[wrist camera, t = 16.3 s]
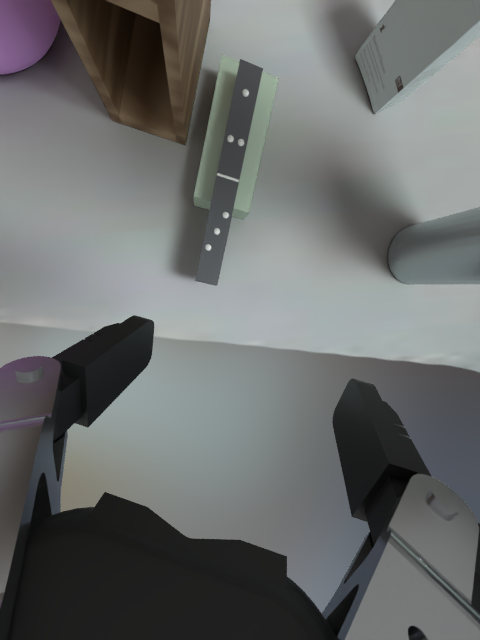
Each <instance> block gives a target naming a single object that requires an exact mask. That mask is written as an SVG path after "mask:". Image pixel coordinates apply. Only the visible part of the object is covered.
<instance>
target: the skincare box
mask: <svg viewBox="0 0 480 640" xmlns="http://www.w3.org/2000/svg"><path fill="white" fill-rule="evenodd" d="M478 37H480V0H396V1H395V2H394V3H393V5H392V6H391V7H390V9H389V10H388V11H387V13H386V14H385V15H384V17H383V18H382V19H381V20H380V22H379V23H378V24H377V26H376V27H375V28H374V30H373V31H372V32H371V34H370V35H369V36H368V38H367V39H366V41H365V42H364V43H363V45H362V46H361V47H360V49H359V50H358V51H357V53H356V56H355V58H356V61H357V64H358V65H359V68H360V71H361V74H362V76H363V79H364V82H365V85H366V88H367V91H368V94H369V98H370V101H371V105H372V109H373V112H374V113H375V114H376V113H378V112H380V111H382V110H384V109H386V108H387V107H389V106H391V105H393V104H395V103H397V102H399V101H402V100H404V99H405V98H406V97H408V96H409V95H410V94H411V93H412V92H414V91H415V90H416V89H417V88H418V87H420V86H421V85H422V84H423V83H424V82H426V81H427V80H428V79H429V78H430V77H432V76H433V75H434V74H435V73H436V72H438V71H439V70H440V69H441V68H442V67H444V66H445V65H446V64H447V63H448V62H450V61H451V60H452V59H453V58H454V57H456V56H457V55H458V54H459V53H460V52H462V51H463V50H464V49H465V48H466V47H468V46H469V45H470V44H471V43H472V42H474V41H475V40H476V39H477V38H478Z"/></svg>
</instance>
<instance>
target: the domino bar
mask: <svg viewBox="0 0 480 640" xmlns="http://www.w3.org/2000/svg"><path fill="white" fill-rule="evenodd" d="M262 71H263V68H260V67H258V66H256V65H253V64H251V63H248V62H246V61H244V60H241V59H240V62H239V67H238V72H237V77H236V82H235V87H234V92H233V97H232V102H231V106H230V111H229V116H228V121H227V126H226V131H225V136H224V141H223V146H222V151H221V156H220V161H219V166H218V171H217V176H216V180H215V185H214V190H213V195H212V200H211V205H210V210H209V215H208V220H207V225H206V230H205V235H204V240H203V245H202V250H201V254H200V259H199V264H198V269H197V274H196V279H195V281H198V282H203V283H207V284H211V285H217V284H218V279H219V274H220V270H221V265H222V260H223V255H224V251H225V246H226V241H227V236H228V232H229V227H230V222H231V218H232V213H233V208H234V203H235V199H236V194H237V189H238V185H239V180H240V175H241V170H242V166H243V161H244V156H245V151H246V147H247V142H248V137H249V133H250V128H251V123H252V118H253V114H254V109H255V104H256V99H257V95H258V90H259V85H260V81H261V76H262Z"/></svg>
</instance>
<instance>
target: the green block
mask: <svg viewBox="0 0 480 640" xmlns="http://www.w3.org/2000/svg"><path fill="white" fill-rule="evenodd" d="M238 67H239V61H236V60H234V59H232V58H229V57H227V56H224V55H222V57H221V62H220V67H219V72H218V77H217V82H216V87H215V92H214V97H213V102H212V107H211V112H210V117H209V122H208V127H207V132H206V137H205V142H204V147H203V152H202V157H201V162H200V167H199V172H198V177H197V182H196V187H195V192H194V206H198V207H201V208H204V209H208V210H210V205H211V200H212V195H213V190H214V185H215V180H216V176H217V171H218V166H219V161H220V156H221V151H222V146H223V141H224V136H225V131H226V126H227V121H228V116H229V111H230V106H231V102H232V97H233V92H234V87H235V82H236V77H237V72H238ZM278 79H279V78H277V77H275V76H272V75H270V74H267V73H265V72H263V71H262V76H261V81H260V85H259V90H258V95H257V99H256V104H255V109H254V114H253V118H252V123H251V128H250V133H249V137H248V142H247V147H246V151H245V156H244V161H243V166H242V170H241V175H240V180H239V185H238V189H237V194H236V199H235V203H234V208H233V213H232V217H235V218H239V219H242V220H244V219H245V217H246V216H247V215H248V213H249V209H250V205H251V200H252V196H253V191H254V187H255V182H256V178H257V173H258V169H259V164H260V160H261V155H262V151H263V146H264V142H265V137H266V133H267V128H268V124H269V119H270V115H271V110H272V106H273V101H274V97H275V92H276V88H277V83H278Z"/></svg>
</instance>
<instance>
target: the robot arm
mask: <svg viewBox="0 0 480 640" xmlns="http://www.w3.org/2000/svg"><path fill="white" fill-rule="evenodd" d="M388 262H389V267H390V270H391V272H392V274H393V275H394V277H395V278H397V279H398V280H399V281H401V282H402V283H405V284H480V207H478V208H475V209H471V210H467V211H464V212H460V213H457V214H453V215H449V216H446V217H442V218H438V219H435V220H431V221H427V222H424V223H420V224H417V225H413V226H409V227H407V228H405V229H403V230H402V231H400V232H399V233H398V234H397V235H396V236H395V238H394V239H393V241H392V243H391V245H390V248H389V253H388ZM153 335H154V322H153V321H152V320H149V319H146V318H142V317H139V316H135V315H134V316H132V317H130V318H128V319H127V320H125V321H124V322H122V323H120V324H119V323H117V324H113V325H109V326H106V327H103V328H102V329H100V330H98V331H97V332H95V333H94V334H92V335H90V336H88V337H86V338H85V340H81V341H80V342H78V343H76V344H75V345H73V346H71V347H69V348H68V349H66V350H64V351H63V352H61V353H59V354H57V355H56V356H54V357H52V358H50V357H44V356H36V357H35V356H34V357H27V358H22V359H18V360H15V361H12V362H10V363H8V364H6V365H4V366H3V367H2V368H0V640H480V524H479V523H478V522H477V520H476V517H475V516H474V514H473V512H472V511H471V509H470V508H469V506H468V505H467V504H466V503H465V502H464V500H463V499H462V498H461V497H460V496H459V495H458V494H457V493H456V492H454V491H453V490H452V489H451V488H449V487H448V486H447V485H445V484H444V483H442V482H441V481H439V480H437V479H435V478H433V477H431V475H430V473H429V471H428V469H427V468H426V466H425V464H424V462H423V460H422V459H421V457H420V455H419V453H418V451H417V449H416V448H415V446H414V444H413V442H412V440H411V439H409V435H408V433H407V431H406V429H405V428H403V427H404V426H403V424H402V422H401V420H400V419H399V416H398V415H397V413H396V412H395V411H394V410H393V409H392V408H391V407H390V406H389V405H388V404H387V403H386V402H384V401H382V399H381V397H380V395H379V394H378V391H377V390H376V387H375V386H374V385H373V384H370V383H366V382H363V381H359V380H356V379H351V380H350V381H349V382H348V384H347V386H346V388H345V390H344V392H343V394H342V396H341V398H340V400H339V402H338V404H337V406H336V408H335V411H334V415H333V428H334V433H335V438H336V443H337V447H338V452H339V457H340V462H341V467H342V472H343V476H344V481H345V486H346V490H347V496H348V500H349V505H350V510H351V515H352V517H355V518H358V519H360V520H363V521H367V522H368V525H369V528H370V531H369V532H368V534H367V535H366V536H365V538H364V540H363V542H362V544H361V545H360V547H359V549H358V551H357V553H356V555H355V557H354V559H353V560H352V562H351V564H350V566H349V568H348V570H347V572H346V574H345V575H344V577H343V579H342V581H341V583H340V585H339V587H338V589H337V590H336V592H335V594H334V595H333V597H332V598H331V600H330V602H329V603H328V604H327V606H326V607H325V609H324V610H323V612H322V614H321V612H320V611H319V609H318V608H317V607H316V605H315V604H314V603H313V601H312V600H311V599H310V598H309V597H308V596H307V595H306V593H305V592H304V591H303V590H302V589H301V588H300V587H299V586H298V585H296V583H294V582H293V581H292V580H291V579H290V578H288V577H287V556H284V555H281V554H278V553H275V552H272V551H270V550H267V549H264V548H261V547H258V546H256V545H252V544H250V543H247V542H244V541H241V540H221V539H191V538H188V537H186V536H184V535H183V534H181V533H180V532H179V531H177V530H176V529H175V528H174V527H172V526H171V525H170V524H168V523H167V522H166V521H164V520H163V519H162V518H161V517H159V516H158V515H157V514H155V513H154V512H153V511H152V510H150V509H149V508H148V507H146V506H143V505H140V504H137V503H134V502H131V501H129V500H126V499H123V498H120V497H117V496H114V495H112V494H109V493H106V492H105V493H104V494H103V495H102V497H101V498H100V500H99V501H98V503H97V504H96V506H95V507H87V508H77V509H73V510H68V511H63V512H61V504H60V503H61V502H60V501H61V486H62V477H63V469H64V461H65V453H66V445H67V437H68V435H67V434H68V433H67V429H69V428H70V427H71V426H72V425H73V424H74V423H76V424H79V425H83V426H85V427H89V426H90V425H91V424H92V423H93V422H94V421H95V420H96V419H97V418H98V417H99V416H100V415H101V413H103V411H104V410H105V409H106V408H107V407H108V406H109V405H110V404H111V403H112V402H113V401H114V400H115V399H116V398H117V397H118V396H119V395H120V394H121V393H122V392H123V391H124V390H125V389H126V388H127V386H129V384H130V383H131V382H132V381H133V380H134V379H135V378H136V377H137V376H138V375H139V374H140V373H141V372H142V371H143V370H144V369H145V368H146V367H147V365H148V363H149V361H150V359H151V355H152V347H153Z"/></svg>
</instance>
